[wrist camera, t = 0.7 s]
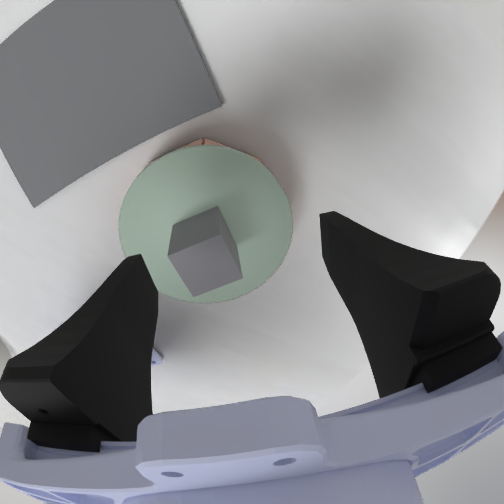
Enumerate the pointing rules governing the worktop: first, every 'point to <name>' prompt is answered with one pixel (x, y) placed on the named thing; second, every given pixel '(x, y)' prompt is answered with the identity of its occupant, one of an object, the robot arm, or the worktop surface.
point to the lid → (206, 223)
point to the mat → (94, 87)
